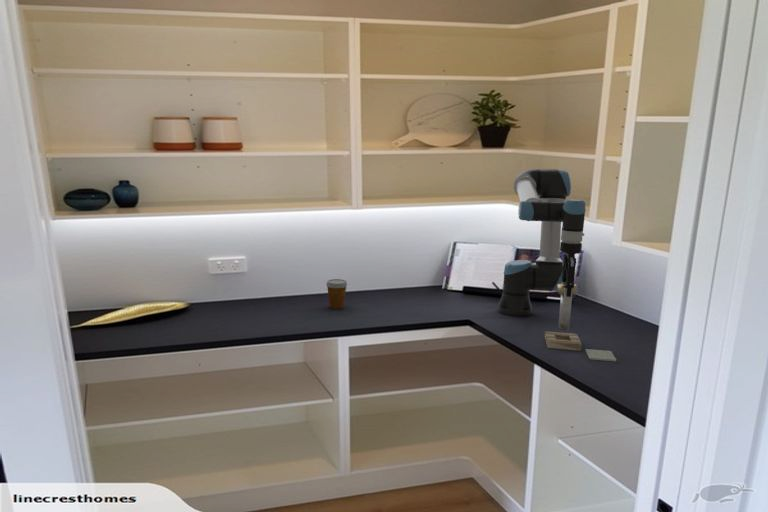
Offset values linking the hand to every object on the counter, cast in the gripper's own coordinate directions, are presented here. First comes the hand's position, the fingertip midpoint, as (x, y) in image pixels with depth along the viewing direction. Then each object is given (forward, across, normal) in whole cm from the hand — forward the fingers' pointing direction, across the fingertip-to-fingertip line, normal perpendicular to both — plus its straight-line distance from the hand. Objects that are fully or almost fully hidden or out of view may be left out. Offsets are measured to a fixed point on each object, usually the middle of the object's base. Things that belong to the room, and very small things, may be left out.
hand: (565, 301), depth 211 cm
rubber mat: (+17, -10, -12) cm, 23 cm away
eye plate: (+17, 0, 0) cm, 17 cm away
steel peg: (+11, 0, 0) cm, 11 cm away
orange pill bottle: (+17, +26, +96) cm, 101 cm away
